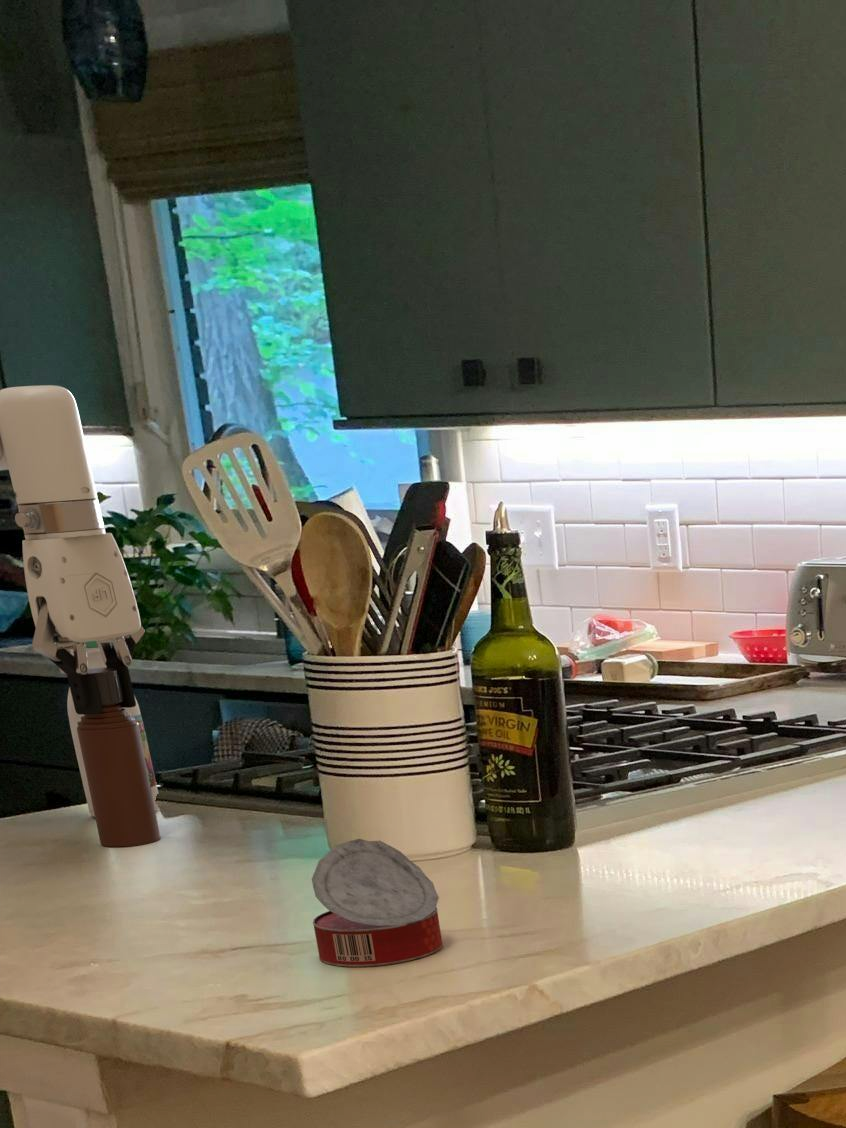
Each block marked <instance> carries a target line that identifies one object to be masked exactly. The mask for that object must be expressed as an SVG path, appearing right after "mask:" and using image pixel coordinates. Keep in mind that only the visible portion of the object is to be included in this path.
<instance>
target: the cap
mask: <svg viewBox="0 0 846 1128" xmlns="http://www.w3.org/2000/svg"><path fill="white" fill-rule="evenodd" d="M88 673H94V676H95V678H96V683H97V687H98V691H99V696H100V700H101V704H102V705H110V704H117V703H121V702H122V701H123V700H122V699H123V696H122V691H121V686H120V680H119V675H118V673H117V669H113V668H95V669H88Z"/></svg>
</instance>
